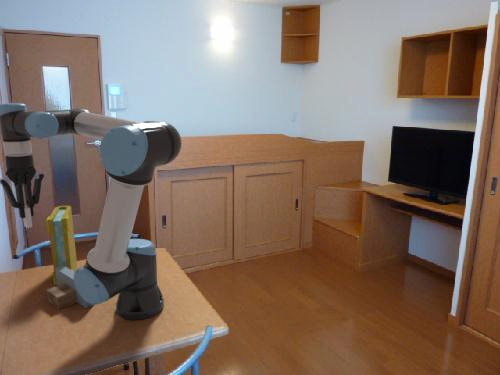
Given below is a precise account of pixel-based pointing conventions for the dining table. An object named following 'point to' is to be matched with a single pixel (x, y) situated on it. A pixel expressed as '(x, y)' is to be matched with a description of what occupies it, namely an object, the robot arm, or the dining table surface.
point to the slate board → (69, 283)
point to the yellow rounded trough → (62, 239)
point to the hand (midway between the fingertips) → (28, 226)
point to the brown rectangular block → (61, 295)
